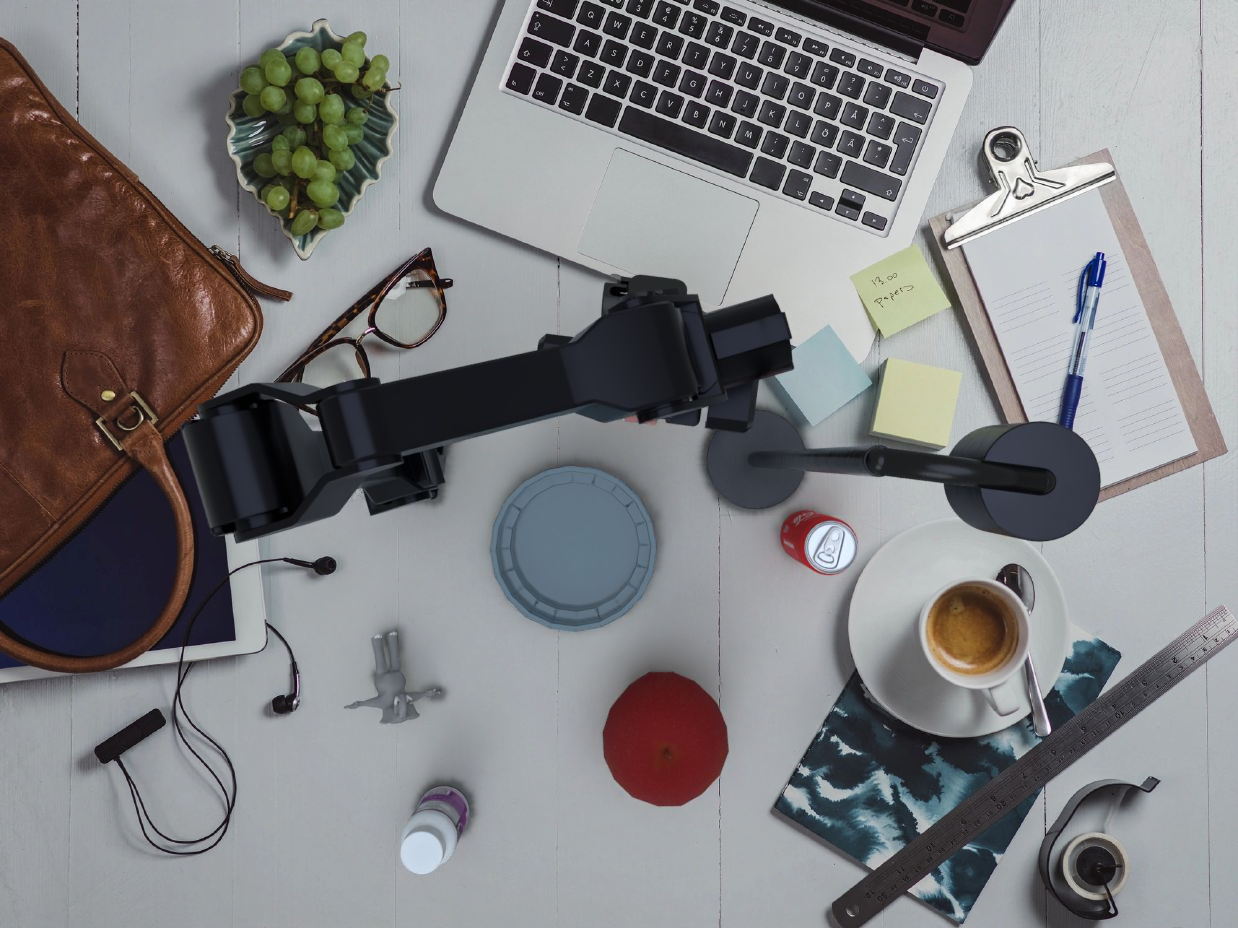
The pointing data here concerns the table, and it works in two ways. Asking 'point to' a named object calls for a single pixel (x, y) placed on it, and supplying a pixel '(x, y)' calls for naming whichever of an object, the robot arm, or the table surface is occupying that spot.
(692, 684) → the apple
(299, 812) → the table surface
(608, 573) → the bowl
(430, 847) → the pill bottle
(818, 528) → the beverage can
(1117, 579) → the table surface
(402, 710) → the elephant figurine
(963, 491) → the desk lamp
